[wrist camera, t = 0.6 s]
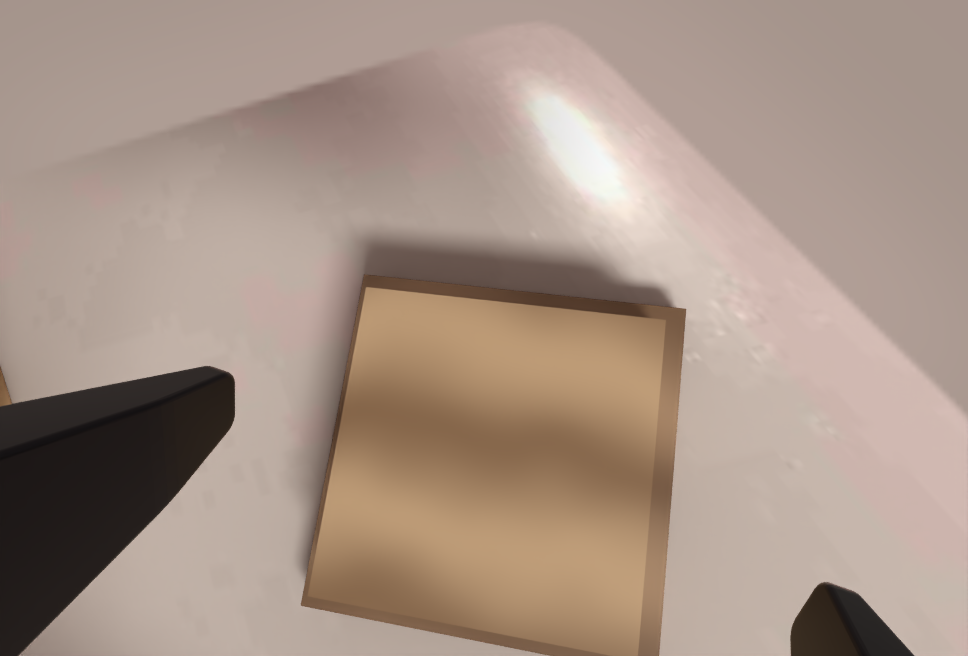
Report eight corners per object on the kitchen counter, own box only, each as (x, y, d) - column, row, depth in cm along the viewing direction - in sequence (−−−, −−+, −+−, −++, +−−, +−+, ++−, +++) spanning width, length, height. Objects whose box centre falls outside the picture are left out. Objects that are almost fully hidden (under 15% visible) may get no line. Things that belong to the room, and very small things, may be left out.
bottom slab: (647, 656, 21) (657, 677, 19) (322, 592, 23) (300, 605, 21) (675, 320, 24) (686, 308, 22) (378, 287, 26) (364, 274, 24)
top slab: (629, 640, 20) (637, 661, 18) (330, 583, 21) (307, 596, 19) (656, 331, 22) (665, 319, 20) (381, 300, 23) (366, 286, 21)
